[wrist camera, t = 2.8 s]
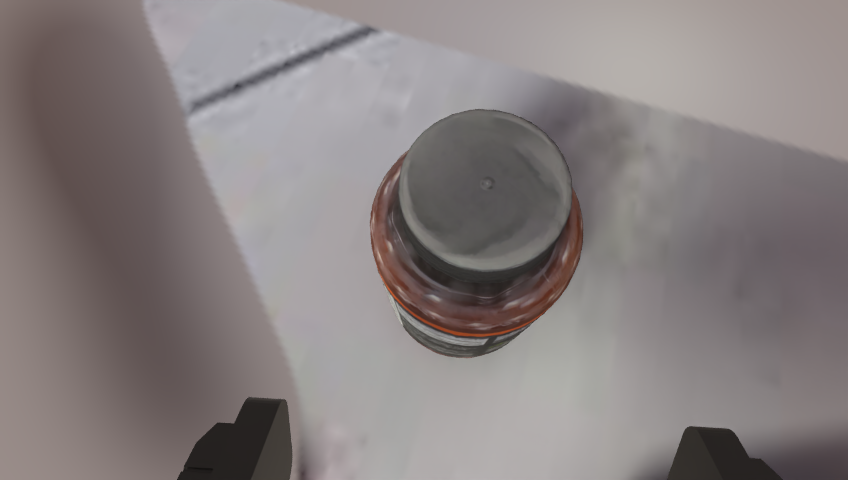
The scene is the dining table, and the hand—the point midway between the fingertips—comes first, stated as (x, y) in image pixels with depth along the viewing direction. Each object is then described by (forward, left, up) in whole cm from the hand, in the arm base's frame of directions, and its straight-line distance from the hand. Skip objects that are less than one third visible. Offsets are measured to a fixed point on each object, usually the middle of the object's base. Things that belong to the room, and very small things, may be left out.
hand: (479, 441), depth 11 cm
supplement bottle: (-1, -5, -11) cm, 12 cm away
